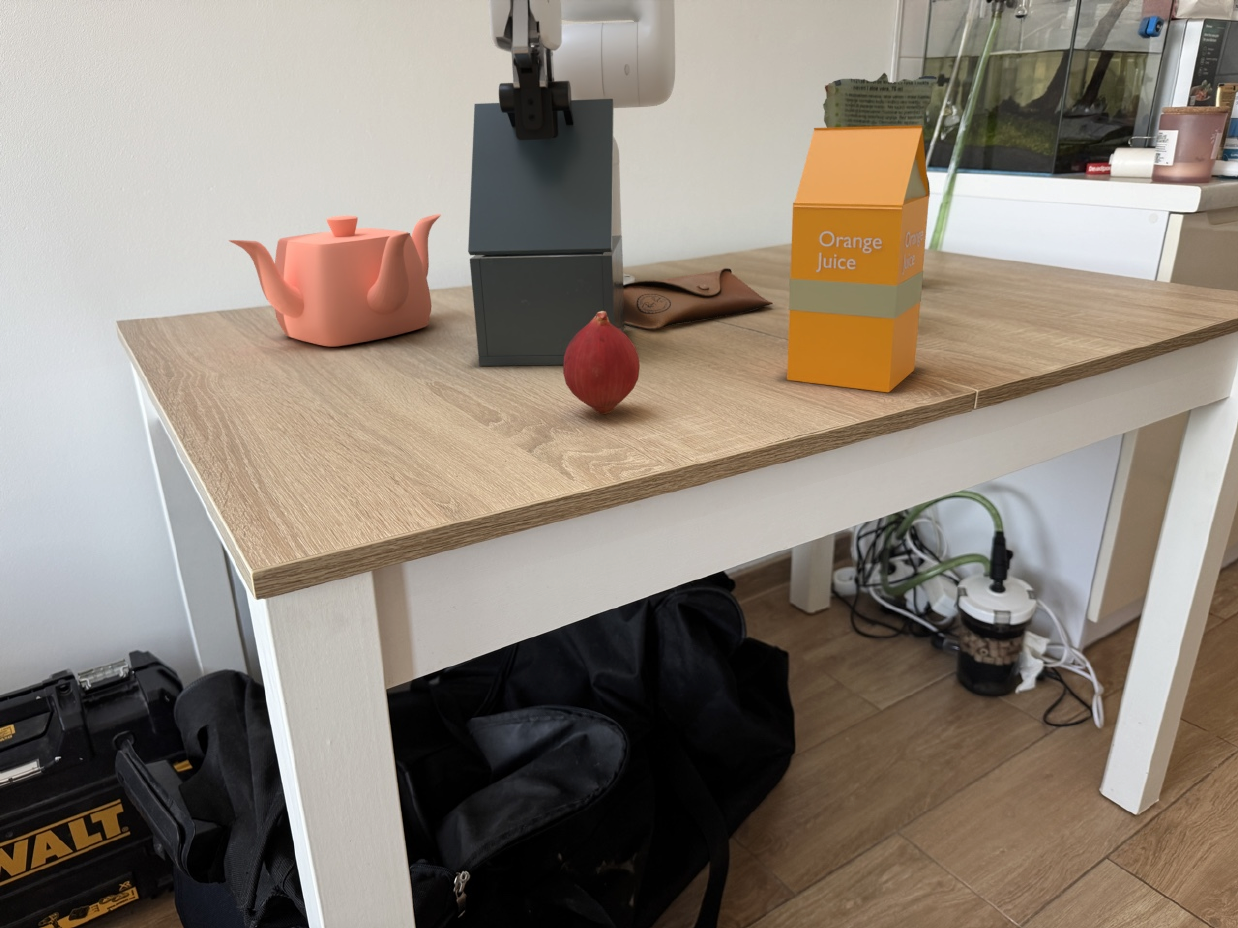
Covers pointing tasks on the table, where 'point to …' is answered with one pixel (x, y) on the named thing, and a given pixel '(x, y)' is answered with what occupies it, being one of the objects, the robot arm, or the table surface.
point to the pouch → (878, 102)
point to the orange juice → (858, 257)
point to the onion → (601, 365)
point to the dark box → (542, 302)
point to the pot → (347, 282)
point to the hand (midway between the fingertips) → (537, 137)
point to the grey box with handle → (542, 179)
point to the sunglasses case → (688, 299)
